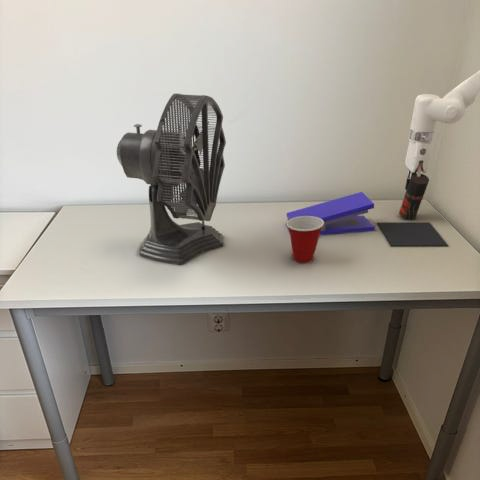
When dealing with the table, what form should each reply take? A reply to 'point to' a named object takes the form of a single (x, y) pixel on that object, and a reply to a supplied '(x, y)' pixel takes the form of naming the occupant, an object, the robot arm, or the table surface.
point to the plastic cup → (304, 236)
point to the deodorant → (413, 196)
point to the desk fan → (178, 178)
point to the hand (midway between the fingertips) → (410, 189)
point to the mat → (411, 234)
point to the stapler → (340, 214)
